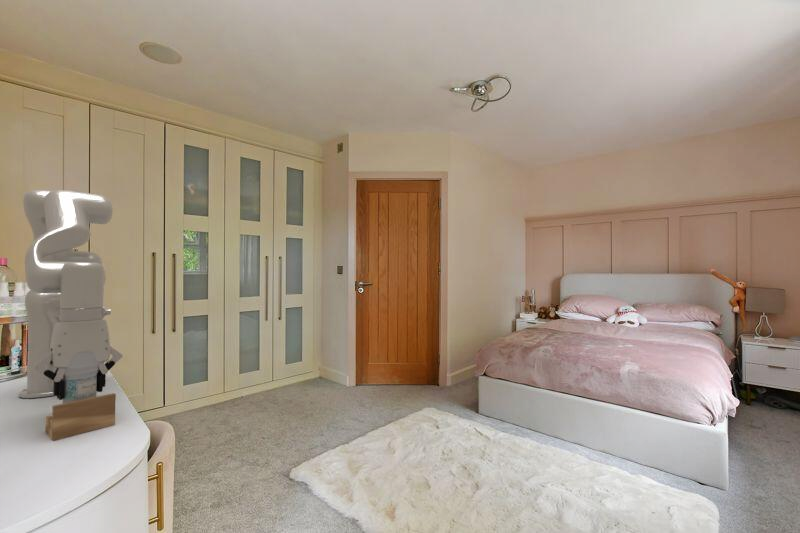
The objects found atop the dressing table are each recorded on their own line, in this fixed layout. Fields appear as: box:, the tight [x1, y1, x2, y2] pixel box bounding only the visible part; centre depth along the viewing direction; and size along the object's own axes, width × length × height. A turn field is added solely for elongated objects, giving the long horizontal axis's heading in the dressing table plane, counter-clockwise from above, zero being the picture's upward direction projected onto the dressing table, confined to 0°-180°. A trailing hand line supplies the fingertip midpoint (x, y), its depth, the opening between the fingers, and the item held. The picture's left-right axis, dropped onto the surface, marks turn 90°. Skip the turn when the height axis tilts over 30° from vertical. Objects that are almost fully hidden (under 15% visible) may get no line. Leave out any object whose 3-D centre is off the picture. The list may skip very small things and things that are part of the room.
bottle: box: [61, 351, 99, 404], centre depth 84 cm, size 7×7×20 cm
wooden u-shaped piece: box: [44, 392, 117, 441], centre depth 83 cm, size 8×11×7 cm
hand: (80, 393), depth 84 cm, fingers open, 6 cm apart
